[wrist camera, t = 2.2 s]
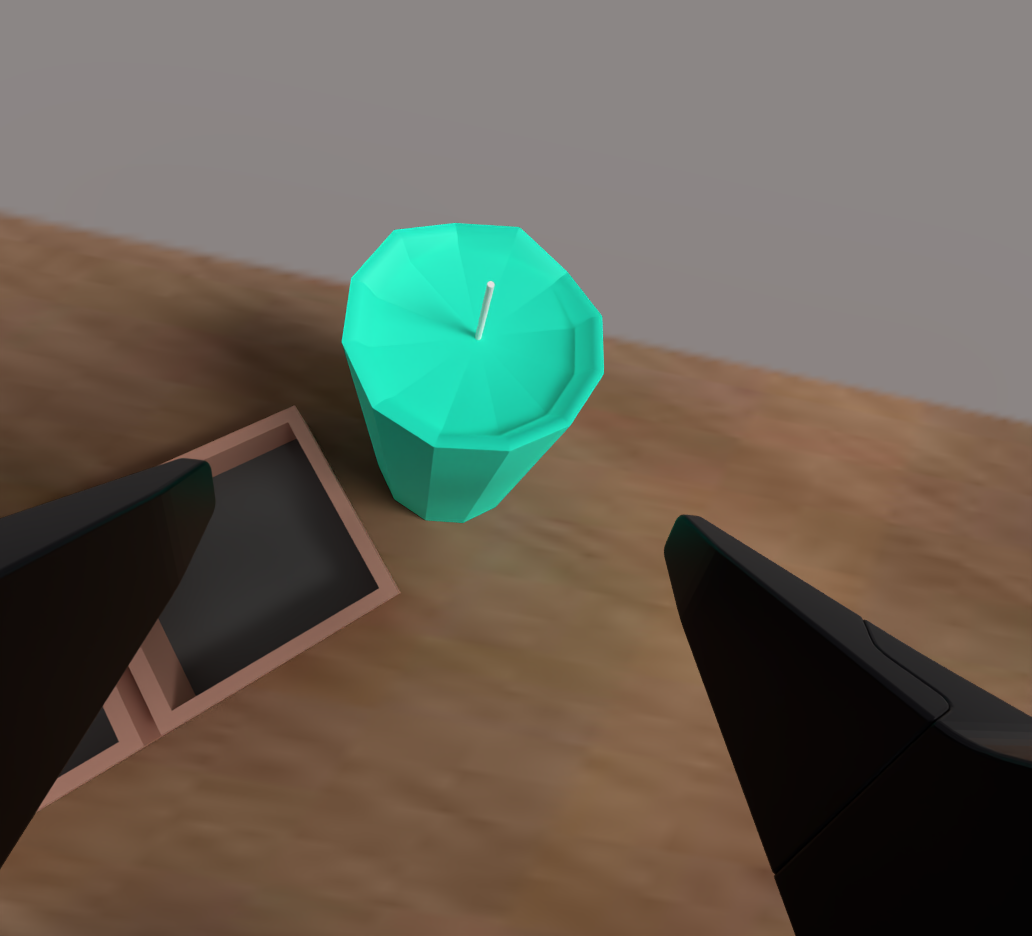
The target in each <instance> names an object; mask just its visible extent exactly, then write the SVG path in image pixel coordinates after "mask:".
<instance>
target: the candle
mask: <svg viewBox="0 0 1032 936" xmlns="http://www.w3.org/2000/svg"><path fill="white" fill-rule="evenodd" d="M602 325H603V323H602V316H601V314H600V313H599V312H598V310H597V309H596V308H595V306H594V305H593V304H592V303H591V301H590V300H589V299H588V297H587V296H586V295H585V294H584V292H583V291H582V290H581V288H580V287H579V286H578V285H577V283H576V282H575V281H574V280H573V278H572V277H571V276H570V274H569V273H568V272H567V271H566V270H565V269H564V268H562V267H561V265H559V264H558V263H557V262H556V261H555V260H554V259H553V258H552V257H551V256H550V255H549V254H548V253H547V252H546V251H545V250H544V249H542V248H541V247H540V246H539V245H538V244H537V243H536V242H535V241H534V240H533V239H532V238H531V237H529V236H528V235H527V234H526V233H525V232H524V231H523V230H522V229H521V228H520V227H509V226H494V225H478V224H461V223H451V224H442V225H434V226H426V227H416V228H407V229H398V230H394V231H393V232H392V233H391V234H390V235H389V236H388V237H387V239H386V240H385V241H384V242H383V243H382V244H381V245H380V247H379V248H378V249H377V250H376V251H375V252H374V253H373V254H372V255H371V256H370V258H369V259H368V260H367V261H366V262H365V263H364V264H363V265H362V266H361V268H360V269H359V270H358V271H357V272H356V273H355V274H354V275H353V277H352V278H351V283H350V290H349V297H348V303H347V310H346V317H345V323H344V330H343V337H342V345H343V348H344V351H345V355H346V358H347V362H348V365H349V368H350V372H351V375H352V378H353V382H354V385H355V388H356V392H357V395H358V398H359V402H360V405H361V409H362V412H363V415H364V419H365V422H366V425H367V429H368V432H369V435H370V439H371V442H372V445H373V449H374V452H375V456H376V459H377V462H378V466H379V468H380V470H381V472H382V474H383V477H384V479H385V481H386V483H387V485H388V487H389V489H390V491H391V494H392V496H393V498H394V499H395V500H396V501H397V502H399V503H400V504H402V505H403V506H405V507H406V508H408V509H409V510H411V511H412V512H414V513H415V514H417V515H418V516H420V517H421V518H423V519H424V520H429V521H443V522H456V523H464V522H466V521H468V520H470V519H472V518H474V517H476V516H478V515H480V514H482V513H484V512H487V511H489V510H491V509H493V508H495V507H496V506H497V505H498V504H499V503H500V502H501V501H502V499H503V498H504V497H505V496H506V495H507V494H508V493H509V492H510V491H511V490H512V489H513V487H514V486H515V485H516V484H517V483H518V482H519V481H520V480H521V479H522V478H523V477H524V475H525V474H526V473H527V472H528V471H529V470H530V469H531V468H532V467H533V466H534V465H535V464H536V462H537V461H538V460H539V459H540V458H541V457H542V456H543V455H544V454H545V453H546V452H547V450H548V449H549V448H550V447H551V446H552V445H553V444H554V443H555V442H556V441H557V440H558V438H559V437H560V436H561V435H562V434H563V433H564V432H565V431H566V430H567V429H568V428H569V426H570V425H571V424H572V422H573V421H574V419H575V417H576V416H577V414H578V413H579V411H580V410H581V408H582V407H583V405H584V404H585V402H586V401H587V399H588V397H589V396H590V394H591V393H592V391H593V390H594V388H595V387H596V385H597V384H598V382H599V381H600V379H601V378H602V376H603V374H604V358H603V326H602Z"/></svg>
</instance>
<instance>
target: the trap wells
mask: <svg viewBox="0 0 1032 936" xmlns="http://www.w3.org/2000/svg"><path fill="white" fill-rule="evenodd" d="M179 458H189V459H198V460H205V461H207V462H208V463H209V464H210V466H211V470H212V477H213V484H214V491H215V498H216V505H215V510H214V513H213V515H212V517H211V519H210V521H209V523H208V526H207V528H206V530H205V532H204V534H203V536H202V538H201V540H200V543H199V545H198V547H197V549H196V551H195V553H194V555H193V557H192V560H191V562H190V564H189V566H188V568H187V570H186V572H185V574H184V576H183V578H182V580H181V582H180V584H179V586H178V587H177V589H176V591H175V592H174V594H173V596H172V597H171V599H170V601H169V602H168V604H167V605H166V607H165V608H164V610H163V612H162V613H161V615H160V616H159V618H158V620H157V621H156V623H155V624H154V626H153V628H152V629H151V631H150V632H149V634H148V635H147V637H146V639H145V640H144V642H143V643H142V645H141V647H140V648H139V650H138V651H137V653H136V654H135V656H134V658H133V659H132V661H131V662H130V664H129V666H128V667H127V669H126V670H125V672H124V674H123V675H122V677H121V678H120V680H119V681H118V683H117V685H116V686H115V688H114V689H113V691H112V693H111V694H110V696H109V697H108V699H107V700H106V702H105V704H104V705H103V707H102V708H101V710H100V712H99V713H98V715H97V716H96V718H95V719H94V721H93V723H92V724H91V726H90V727H89V729H88V731H87V732H86V734H85V735H84V737H83V739H82V740H81V742H80V743H79V745H78V746H77V748H76V750H75V751H74V753H73V754H72V756H71V758H70V759H69V761H68V762H67V764H66V765H65V767H64V769H63V770H62V772H61V773H60V775H59V777H58V778H57V780H56V781H55V783H54V784H53V786H52V788H51V789H50V791H49V792H48V794H47V796H46V797H45V799H44V800H43V802H42V804H41V805H40V807H39V808H38V810H37V811H36V812H38V811H40V810H41V809H43V808H45V807H46V806H48V805H50V804H51V803H53V802H54V801H56V800H58V799H59V798H61V797H63V796H64V795H66V794H68V793H69V792H71V791H73V790H74V789H76V788H78V787H79V786H81V785H83V784H84V783H86V782H88V781H89V780H91V779H93V778H94V777H96V776H98V775H99V774H101V773H103V772H104V771H106V770H108V769H109V768H111V767H113V766H114V765H116V764H118V763H119V762H121V761H123V760H124V759H126V758H128V757H129V756H131V755H133V754H134V753H136V752H138V751H139V750H141V749H142V748H144V747H146V746H147V745H149V744H151V743H152V742H154V741H156V740H157V739H159V738H161V737H162V736H164V735H166V734H167V733H169V732H171V731H172V730H174V729H176V727H178V726H180V725H182V724H184V723H185V722H187V721H189V720H191V719H192V718H194V717H196V716H197V715H199V714H201V713H202V712H204V711H206V710H207V709H209V708H211V707H212V706H214V705H216V704H217V703H219V702H221V701H222V700H224V699H225V698H227V697H229V696H230V695H232V694H234V693H235V692H237V691H239V690H240V689H242V688H244V687H245V686H247V685H249V684H250V683H252V682H254V681H255V680H257V679H259V678H260V677H262V676H264V675H265V674H267V673H269V672H270V671H272V670H274V669H275V668H277V667H279V666H280V665H282V664H284V663H285V662H287V661H289V660H290V659H292V658H294V657H295V656H297V655H299V654H300V653H302V652H304V651H305V650H307V649H308V648H310V647H312V646H313V645H315V644H317V643H318V642H320V641H322V640H323V639H325V638H327V637H328V636H330V635H332V634H333V633H335V632H337V631H338V630H340V629H342V628H343V627H345V626H347V625H348V624H350V623H352V622H353V621H355V620H357V619H358V618H360V617H362V616H363V615H365V614H367V613H368V612H370V611H372V610H373V609H375V608H377V607H378V606H380V605H382V604H383V603H385V602H387V601H388V600H390V599H392V598H393V597H395V596H396V595H398V594H400V593H401V592H400V590H399V589H398V587H397V585H396V583H395V581H394V580H393V578H392V576H391V574H390V572H389V571H388V569H387V567H386V565H385V563H384V562H383V560H382V558H381V556H380V554H379V553H378V551H377V549H376V547H375V545H374V544H373V542H372V540H371V538H370V536H369V535H368V533H367V531H366V529H365V527H364V526H363V524H362V522H361V520H360V518H359V517H358V515H357V513H356V511H355V509H354V508H353V506H352V504H351V502H350V500H349V499H348V497H347V495H346V493H345V491H344V490H343V488H342V486H341V484H340V482H339V481H338V479H337V477H336V475H335V473H334V472H333V470H332V468H331V466H330V465H329V463H328V461H327V459H326V457H325V456H324V454H323V452H322V450H321V448H320V447H319V445H318V443H317V441H316V439H315V438H314V436H313V434H312V432H311V430H310V429H309V427H308V425H307V423H306V422H305V420H304V419H303V417H302V415H301V414H300V412H299V411H298V409H297V408H296V406H295V405H294V406H292V407H290V408H287V409H285V410H283V411H281V412H278V413H276V414H274V415H272V416H269V417H267V418H265V419H262V420H260V421H258V422H256V423H253V424H251V425H249V426H246V427H244V428H242V429H240V430H237V431H235V432H233V433H231V434H228V435H226V436H224V437H221V438H219V439H217V440H215V441H212V442H210V443H208V444H206V445H203V446H201V447H199V448H196V449H194V450H192V451H190V452H187V453H185V454H183V455H181V456H178V457H176V458H174V459H171V460H169V461H167V462H170V461H173V460H176V459H179ZM167 462H165V463H167ZM162 464H164V463H162ZM160 465H161V464H160Z"/></svg>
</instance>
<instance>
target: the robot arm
mask: <svg viewBox="0 0 1032 936" xmlns="http://www.w3.org/2000/svg"><path fill="white" fill-rule="evenodd" d="M215 505H216V498H215V491H214V484H213V477H212V470H211V466H210V464H209V463H208V462H207V461H205V460H198V459H189V458H179V459H176V460H173V461H170V462H167V463H164V464H161V465H158V466H155V467H152V468H149V469H146V470H143V471H140V472H137V473H134V474H131V475H128V476H125V477H122V478H119V479H116V480H113V481H110V482H107V483H104V484H101V485H98V486H96V487H93V488H90V489H87V490H84V491H81V492H78V493H75V494H72V495H69V496H66V497H63V498H60V499H57V500H54V501H51V502H48V503H45V504H42V505H39V506H36V507H33V508H30V509H27V510H24V511H21V512H18V513H15V514H12V515H9V516H6V517H3V518H0V869H1V867H2V865H3V864H4V862H5V861H6V859H7V857H8V856H9V854H10V853H11V851H12V850H13V848H14V846H15V845H16V843H17V842H18V840H19V838H20V837H21V835H22V834H23V832H24V830H25V829H26V827H27V826H28V824H29V823H30V821H31V819H32V818H33V816H34V815H35V813H36V811H37V810H38V808H39V807H40V805H41V804H42V802H43V800H44V799H45V797H46V796H47V794H48V792H49V791H50V789H51V788H52V786H53V784H54V783H55V781H56V780H57V778H58V777H59V775H60V773H61V772H62V770H63V769H64V767H65V765H66V764H67V762H68V761H69V759H70V758H71V756H72V754H73V753H74V751H75V750H76V748H77V746H78V745H79V743H80V742H81V740H82V739H83V737H84V735H85V734H86V732H87V731H88V729H89V727H90V726H91V724H92V723H93V721H94V719H95V718H96V716H97V715H98V713H99V712H100V710H101V708H102V707H103V705H104V704H105V702H106V700H107V699H108V697H109V696H110V694H111V693H112V691H113V689H114V688H115V686H116V685H117V683H118V681H119V680H120V678H121V677H122V675H123V674H124V672H125V670H126V669H127V667H128V666H129V664H130V662H131V661H132V659H133V658H134V656H135V654H136V653H137V651H138V650H139V648H140V647H141V645H142V643H143V642H144V640H145V639H146V637H147V635H148V634H149V632H150V631H151V629H152V628H153V626H154V624H155V623H156V621H157V620H158V618H159V616H160V615H161V613H162V612H163V610H164V608H165V607H166V605H167V604H168V602H169V601H170V599H171V597H172V596H173V594H174V592H175V591H176V589H177V587H178V586H179V584H180V582H181V580H182V578H183V576H184V574H185V572H186V570H187V568H188V566H189V564H190V562H191V560H192V557H193V555H194V553H195V551H196V549H197V547H198V545H199V543H200V540H201V538H202V536H203V534H204V532H205V530H206V528H207V526H208V523H209V521H210V519H211V517H212V515H213V513H214V510H215ZM664 557H665V561H666V565H667V569H668V573H669V577H670V581H671V585H672V589H673V593H674V597H675V601H676V605H677V609H678V613H679V616H680V620H681V623H682V626H683V629H684V632H685V634H686V637H687V640H688V643H689V645H690V648H691V651H692V653H693V656H694V659H695V662H696V664H697V667H698V670H699V673H700V675H701V678H702V681H703V683H704V686H705V689H706V692H707V694H708V697H709V700H710V703H711V705H712V708H713V711H714V714H715V716H716V719H717V722H718V724H719V727H720V730H721V733H722V735H723V738H724V741H725V744H726V746H727V749H728V752H729V754H730V757H731V760H732V763H733V765H734V768H735V771H736V774H737V776H738V779H739V782H740V785H741V787H742V790H743V793H744V795H745V798H746V801H747V804H748V806H749V809H750V812H751V815H752V817H753V820H754V823H755V825H756V828H757V831H758V834H759V836H760V839H761V842H762V845H763V847H764V850H765V853H766V856H767V858H768V861H769V864H770V866H771V869H772V872H773V873H774V874H775V875H774V878H775V881H776V884H777V886H778V889H779V892H780V895H781V897H782V900H783V903H784V906H785V908H786V911H787V914H788V916H789V919H790V922H791V925H792V927H793V930H794V933H795V936H1032V717H1031V716H1029V715H1027V714H1025V713H1024V712H1022V711H1020V710H1018V709H1017V708H1015V707H1013V706H1011V705H1010V704H1008V703H1006V702H1004V701H1003V700H1001V699H999V698H997V697H996V696H994V695H992V694H990V693H989V692H987V691H985V690H983V689H982V688H980V687H978V686H976V685H975V684H973V683H971V682H969V681H968V680H966V679H964V678H962V677H961V676H959V675H957V674H955V673H954V672H952V671H950V670H948V669H947V668H945V667H943V666H942V665H940V664H938V663H936V662H935V661H933V660H931V659H930V658H928V657H926V656H924V655H923V654H921V653H919V652H918V651H916V650H914V649H913V648H911V647H909V646H908V645H906V644H904V643H903V642H901V641H900V640H898V639H896V638H895V637H893V636H891V635H890V634H888V633H886V632H885V631H883V630H882V629H880V628H878V627H877V626H875V625H874V624H872V623H870V622H869V621H867V620H863V619H862V618H861V617H860V616H859V615H857V614H856V613H854V612H853V611H851V610H849V609H848V608H846V607H845V606H843V605H841V604H840V603H838V602H836V601H835V600H833V599H832V598H830V597H828V596H827V595H825V594H824V593H822V592H820V591H819V590H817V589H816V588H814V587H812V586H811V585H809V584H808V583H806V582H804V581H803V580H801V579H800V578H798V577H796V576H795V575H793V574H792V573H790V572H788V571H787V570H785V569H784V568H782V567H780V566H779V565H777V564H776V563H774V562H772V561H771V560H769V559H768V558H766V557H764V556H763V555H761V554H760V553H758V552H756V551H755V550H753V549H751V548H750V547H748V546H747V545H745V544H743V543H742V542H740V541H739V540H737V539H735V538H734V537H732V536H731V535H729V534H727V533H726V532H724V531H723V530H721V529H719V528H718V527H716V526H715V525H713V524H711V523H710V522H708V521H707V520H705V519H703V518H702V517H699V516H693V515H680V516H679V517H678V518H677V519H676V521H675V523H674V526H673V528H672V530H671V532H670V535H669V537H668V539H667V541H666V544H665V548H664Z"/></svg>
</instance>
